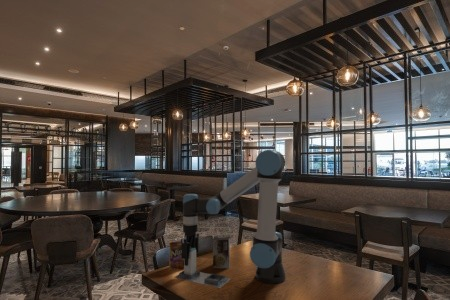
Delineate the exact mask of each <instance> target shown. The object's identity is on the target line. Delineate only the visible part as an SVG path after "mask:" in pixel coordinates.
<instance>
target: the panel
mask: <svg viewBox="0 0 450 300" xmlns="http://www.w3.org/2000/svg"><path fill="white" fill-rule="evenodd" d="M174 278H176V279H179V280H184V281H189V282H192V283H196V284H200V285H201V284H202V285H206V286H210V287H214V288H216V289H218V290H220V289H221V288H222V287H223V286H224V285H226V284H227V283H228V282H229V281H231V278H230V277H226V276H225V275H221V274H215V273H206V272H202V271H200V270H197V269H196V273H194V274H192V275H188V274H184V270H182V271H180V272H179V273H178V274H177V275H175V276H174Z"/></svg>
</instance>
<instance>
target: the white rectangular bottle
mask: <svg viewBox="0 0 450 300" xmlns="http://www.w3.org/2000/svg"><path fill="white" fill-rule="evenodd" d="M189 259H190V272H186V271H185V259H184V269H183V271H184V274H188V275H192V274H194V273H196V270H197V255H196V248H192V247H191V246H190V254H189Z"/></svg>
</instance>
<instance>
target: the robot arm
mask: <svg viewBox="0 0 450 300" xmlns="http://www.w3.org/2000/svg"><path fill="white" fill-rule="evenodd" d="M285 166H286V158H285V157H284V155H283V154H282V153H281V152H279V151H278V150H274V149H266V150H263V151H261V152H260V153H258V155H257V156H256V158H255V167H254V168H253V169H251V170H249V172H246V173H245V174H244V175H243V176H241V177H239V179H237V180H235V181H234V182H232V183H231V184H230V185H228V186H227V187H225V188H224V189H223V190H222V191H220V192H219V193H217V194H216V195H214V196H213V197H212V196H211V197H209V198H201V197H200V198H199V195H198V194H196V193H186V194H184V195H183V200H182V206H183V207H182V209H183V210H182V212H183V213H182V214H183V215H182V216H183V217H182V223H183V225H182V232H183V233H184V236H183V238H181V239H180V240H181V243H182V258H183V259H185V271H186V272H190V259H189V254H190V247H192V248H196V256H198V255H199V238H200V234H199V233H197V232H198V230H199V229H198V228H199V227H198V223H199V222H198V221H199V220H198V219H199V218H198V214H207V215H217V214H219V212H220V210H222V209H224V208H225V207H226V206H227V205H229V204H230V203H231V202H233V201H234V200H235V199H237V198H238V197H240V196H241V195H243V194H244V193H246V192H247V191H249V190H250V189H252V188H253V187H255V186H256V185H257V184H259V188H258V189H259V190H258V191H259V192H258V206H257V207H258V210H257V223H256V225H257V226H256V232H255V233H253V236H252V246H251V248H250V251H249V258H250V260H251V262H252V263H253V265H255V266H256V270H255V278H256V279H257V280H258V281H260V282H263V283H266V284H280V283H283V282H285V280H286V279H287V278H286V275H287V274H286V271H285V268H284V265H283V235H282V233H281V232H278V231H276V226H277V224H276V223H277V209H278V192H279V189H278V188H279V183H280V182H281V181H282V179H283V177H282V176H283V170H284V169H285Z"/></svg>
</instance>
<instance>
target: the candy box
mask: <svg viewBox="0 0 450 300" xmlns="http://www.w3.org/2000/svg"><path fill="white" fill-rule="evenodd" d="M168 253H169V261H168V270H169V271H170V270H184V259H183V258H182V243H181V239H179V240H176V239H174V240H173V239H172V240H171V239H170V240H169V252H168Z"/></svg>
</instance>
